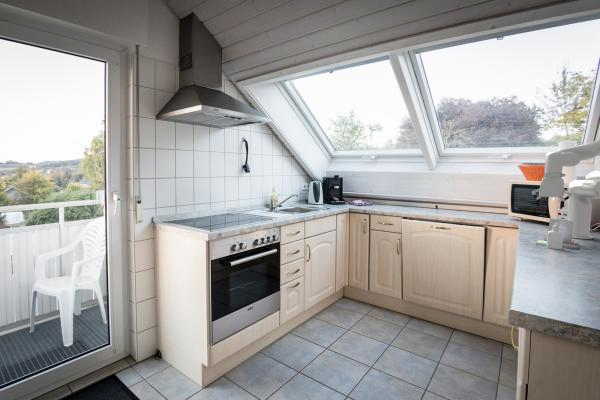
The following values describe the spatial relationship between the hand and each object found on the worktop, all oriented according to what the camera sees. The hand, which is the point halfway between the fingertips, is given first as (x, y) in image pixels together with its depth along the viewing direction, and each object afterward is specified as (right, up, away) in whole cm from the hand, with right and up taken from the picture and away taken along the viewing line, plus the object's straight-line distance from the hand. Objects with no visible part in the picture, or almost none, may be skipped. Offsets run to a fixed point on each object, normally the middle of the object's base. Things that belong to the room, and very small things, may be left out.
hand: (549, 207), depth 174 cm
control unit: (-2, -17, -9) cm, 19 cm away
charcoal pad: (-6, -18, -19) cm, 27 cm away
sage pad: (-12, -18, -13) cm, 25 cm away
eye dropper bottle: (-15, -19, -22) cm, 32 cm away
